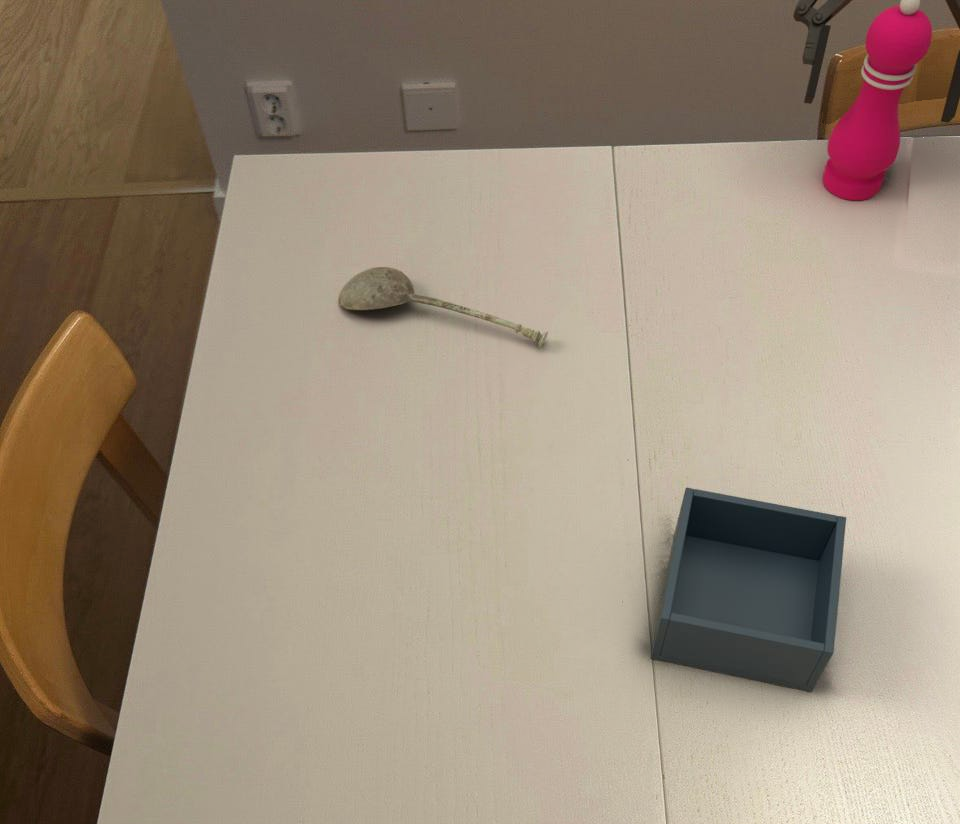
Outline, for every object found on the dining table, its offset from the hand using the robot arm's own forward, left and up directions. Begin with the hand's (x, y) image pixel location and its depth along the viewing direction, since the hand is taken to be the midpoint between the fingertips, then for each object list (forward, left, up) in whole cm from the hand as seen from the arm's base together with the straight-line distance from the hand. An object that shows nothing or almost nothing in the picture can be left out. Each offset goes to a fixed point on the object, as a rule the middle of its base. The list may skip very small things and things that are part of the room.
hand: (877, 110), depth 106 cm
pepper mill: (0, -2, -10) cm, 10 cm away
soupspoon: (+38, +28, -10) cm, 48 cm away
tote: (+5, +55, -10) cm, 56 cm away
